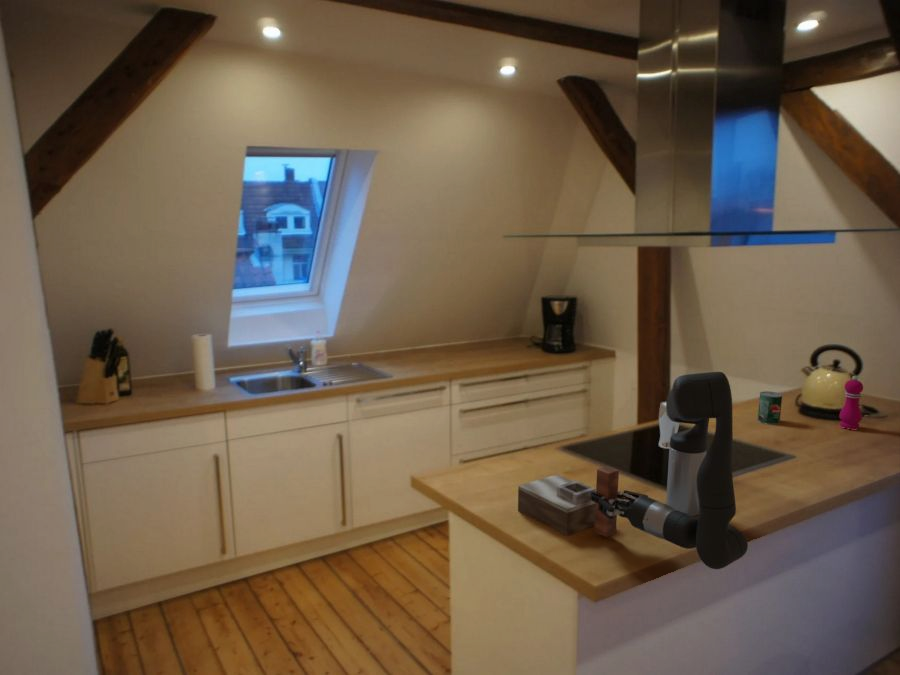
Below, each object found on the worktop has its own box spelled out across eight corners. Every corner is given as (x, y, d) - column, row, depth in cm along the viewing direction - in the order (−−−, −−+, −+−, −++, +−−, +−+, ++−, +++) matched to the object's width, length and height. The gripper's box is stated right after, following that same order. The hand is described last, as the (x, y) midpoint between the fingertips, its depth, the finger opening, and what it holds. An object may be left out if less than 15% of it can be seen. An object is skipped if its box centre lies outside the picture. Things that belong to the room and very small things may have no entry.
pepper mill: (833, 425, 257) (839, 374, 253) (851, 424, 257) (857, 373, 254) (847, 431, 250) (852, 378, 246) (865, 430, 250) (871, 378, 247)
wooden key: (604, 527, 167) (607, 466, 164) (615, 533, 164) (618, 470, 161) (594, 531, 165) (597, 469, 162) (605, 537, 162) (608, 473, 159)
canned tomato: (778, 425, 256) (780, 397, 254) (755, 422, 260) (758, 394, 258) (781, 420, 262) (783, 393, 261) (759, 417, 267) (761, 390, 265)
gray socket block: (555, 498, 188) (556, 465, 186) (605, 521, 173) (607, 486, 172) (517, 510, 180) (518, 476, 178) (566, 535, 165) (567, 499, 164)
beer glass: (678, 450, 227) (680, 407, 225) (656, 448, 230) (659, 405, 227) (678, 444, 234) (681, 402, 231) (657, 442, 236) (660, 400, 234)
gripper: (676, 495, 155) (617, 472, 168) (635, 510, 146) (577, 485, 160) (674, 525, 156) (616, 501, 170) (634, 542, 148) (576, 515, 162)
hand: (597, 493), depth 165 cm, fingers closed on wooden key, 3 cm apart
